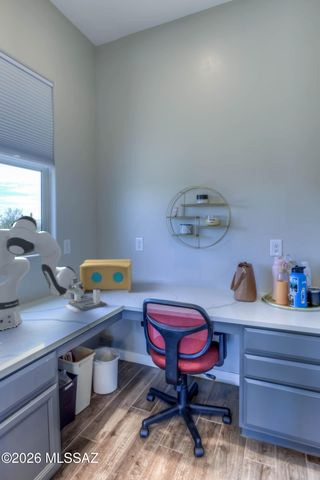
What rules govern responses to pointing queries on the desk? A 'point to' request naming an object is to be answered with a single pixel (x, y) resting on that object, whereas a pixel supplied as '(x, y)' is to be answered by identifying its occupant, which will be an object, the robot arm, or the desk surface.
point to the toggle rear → (77, 295)
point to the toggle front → (96, 295)
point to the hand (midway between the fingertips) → (80, 295)
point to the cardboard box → (106, 274)
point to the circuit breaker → (68, 294)
